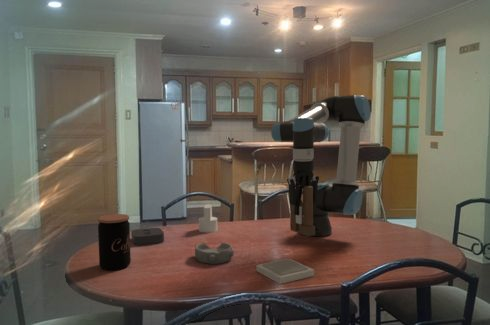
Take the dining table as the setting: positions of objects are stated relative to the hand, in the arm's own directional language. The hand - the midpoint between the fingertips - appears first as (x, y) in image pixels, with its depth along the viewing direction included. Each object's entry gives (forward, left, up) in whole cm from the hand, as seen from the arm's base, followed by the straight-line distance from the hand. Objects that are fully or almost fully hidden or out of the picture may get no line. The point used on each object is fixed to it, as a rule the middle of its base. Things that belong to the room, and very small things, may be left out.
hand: (303, 222), depth 152 cm
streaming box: (-54, -43, -15) cm, 70 cm away
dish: (-18, -29, -15) cm, 37 cm away
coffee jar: (-29, -62, -14) cm, 70 cm away
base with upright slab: (-57, -13, -14) cm, 60 cm away
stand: (+8, -15, -14) cm, 22 cm away
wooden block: (-1, 0, -4) cm, 4 cm away
